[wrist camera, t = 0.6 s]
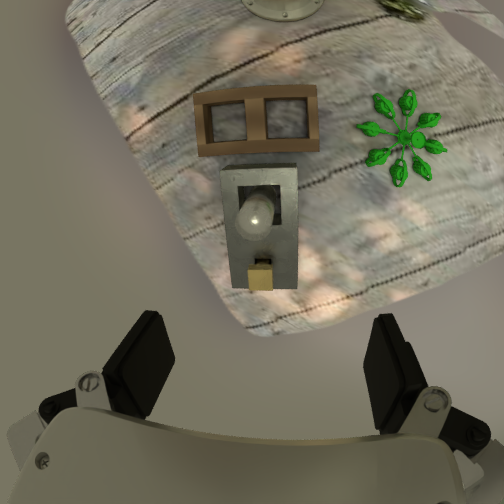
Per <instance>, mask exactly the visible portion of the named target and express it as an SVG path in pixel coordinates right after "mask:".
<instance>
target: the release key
mask: <svg viewBox="0 0 504 504" xmlns="http://www.w3.org/2000/svg"><path fill="white" fill-rule="evenodd" d="M248 281H249V290H265V291H273V264H270V259H262V258H258V261H257V264H249V267H248Z"/></svg>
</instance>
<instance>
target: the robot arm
mask: <svg viewBox="0 0 504 504" xmlns="http://www.w3.org/2000/svg"><path fill="white" fill-rule="evenodd" d="M241 1H242V3H243V4H244V6H245V7H246V8H247V9H248V10H249V11H250V12H252V13H254V14H255V15H257V16H259V17H262V18H264V19H268V20H271V21H279V22H289V21H297V20H301V19H304V18H306V17H309V16H311V15H312V14H314V13H315V12H317V11H318V9H319V8H320V7H321V6H322V4H323V2H324V0H241ZM316 3H318V4H316ZM249 5H251V6H249ZM285 16H286V17H287V18H284V17H285ZM174 363H175V356H174V352H173V350H172V347H171V343H170V340H169V337H168V334H167V331H166V328H165V324H164V321H163V318H162V316H161V315H159V313H158V312H157V311H148V310H146V311H144V313H143V314H142V315H141V316H140V318H139V319H138V320H137V322H136V323H135V324H134V326H133V327H132V328H131V330H130V331H129V332H128V334H127V335H126V337H125V338H124V339H123V340H122V342H121V343H120V345H119V346H118V348H117V349H116V350H115V352H114V353H113V354H112V356H111V357H110V359H109V360H108V361H107V363H106V364H105V366H104V367H103V372H102V373H100V372H97V371H88V372H85V373H83V374H82V375H81V376H79V378H78V379H77V381H76V384H75V388H74V389H71V390H68V391H66V392H63V393H60V394H57V395H54V396H51V397H48V398H46V399H45V400H43V401H42V403H41V404H40V406H39V412H37V411H34V412H32V413H31V414H29V415H27V416H26V417H24V418H23V419H21V420H19V421H18V422H16V423H15V424H13V425H12V426H10V427H9V429H8V432H7V439H8V442H9V444H10V447H11V449H12V452H13V455H14V457H15V460H16V462H17V465H18V467H19V469H20V474H19V476H18V478H17V480H16V482H15V485H14V487H13V489H12V492H11V494H10V497H9V499H8V501H7V504H499V503H500V502H501V501H502V500H503V498H504V446H503V445H502V444H501V443H500V442H499V441H497V440H496V439H494V440H492V439H491V431H490V428H489V426H488V425H487V424H486V423H484V422H483V421H481V420H479V419H477V418H475V417H473V416H471V415H469V414H466V413H465V412H462V411H460V410H458V409H456V408H454V407H452V406H451V404H452V400H451V397H450V395H449V393H448V392H447V391H446V390H445V389H443V388H441V387H438V386H431V387H428V384H427V382H426V379H425V377H424V374H423V372H422V369H421V367H420V365H419V362H418V360H417V357H416V355H415V353H414V350H413V348H412V346H411V344H410V343H409V342H405V340H404V337H403V335H402V333H401V331H400V328H399V326H398V324H397V322H396V320H395V318H394V316H393V314H392V313H388V314H379V316H378V318H375V319H374V322H373V327H372V331H371V336H370V340H369V343H368V347H367V351H366V355H365V359H364V363H363V368H364V373H365V378H366V383H367V387H368V392H369V397H370V402H371V407H372V412H373V418H374V423H375V428H376V430H379V431H380V435H371V436H362V437H352V438H337V439H316V440H283V439H260V438H246V437H236V436H227V435H219V434H212V433H206V432H199V431H194V430H188V429H183V428H177V427H173V426H168V425H164V424H159V423H155V422H151V421H147V420H145V418H146V416H149V415H150V414H151V412H152V409H153V407H154V405H155V403H156V401H157V399H158V397H159V394H160V392H161V390H162V388H163V386H164V384H165V382H166V380H167V377H168V375H169V373H170V371H171V369H172V367H173V365H174ZM462 482H463V483H462ZM463 484H464V488H465V490H464V488H463Z"/></svg>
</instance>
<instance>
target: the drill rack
mask: <svg viewBox="0 0 504 504" xmlns="http://www.w3.org/2000/svg"><path fill="white" fill-rule="evenodd" d="M193 100H194V113H195V125H196V136H197V146H198V156H199V157H205V156H216V155H228V154H243V153H262V152H319V123H318V104H317V89H316V85H269V86H253V87H242V88H232V89H223V90H216V91H208V92H202V93H196V94H193ZM278 100H306V113H307V133H308V138H268V126H267V111H266V101H278ZM234 103H245V114H246V128H247V140H234V141H222V142H214V140H213V128H212V116H211V106H216V105H224V104H234Z"/></svg>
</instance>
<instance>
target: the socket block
mask: <svg viewBox="0 0 504 504" xmlns="http://www.w3.org/2000/svg"><path fill="white" fill-rule="evenodd" d="M220 182H221V192H222V202H223V211H224V221H225V230H226V239H227V248H228V257H229V265H230V274H231V282H232V288H244V289H249V281H248V267H249V264H257V261H258V258H262V259H270V264H273V289H297V281H298V186H297V165H296V163H265V164H243V165H228V166H226V167H225V168H223V169H221V170H220ZM252 185H280V189H281V214H274V216H273V221H272V227H271V231H270V233H269V234H268V235H267V236H266V237H265V238H263V239H261V240H258V241H250V240H247V239H245V238H243V237H242V236H241V235H240V234H239V233H238V232H237V230H236V227H235V219H236V216H237V214H238V213H239V211H240V209H241V207H242V206H243V204H244V202H245V193H244V186H252Z"/></svg>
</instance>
